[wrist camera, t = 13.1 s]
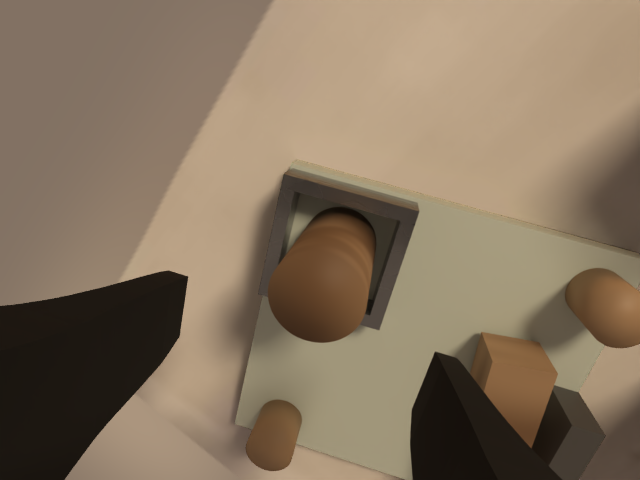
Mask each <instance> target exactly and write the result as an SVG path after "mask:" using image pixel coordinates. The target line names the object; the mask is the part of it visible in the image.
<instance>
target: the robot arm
mask: <svg viewBox="0 0 640 480" xmlns="http://www.w3.org/2000/svg"><path fill="white" fill-rule="evenodd" d="M187 281H188V276H185V275H181V274H178V273H175V272H171V271H163V272H158V273H154V274H150V275H146V276H143V277H139V278H135V279H132V280H128V281H125V282H121V283H117V284H114V285H110V286H106V287H103V288H99V289H94V290H90V291H86V292H82V293H77V294H73V295H69V296H64V297H59V298H54V299H48V300H42V301H36V302H29V303H23V304H16V305H7V306H0V480H65V478H66V477H67V475H68V474H69V472H70V471H71V470H72V468H73V467H74V466H75V464H76V463H77V462H78V460H79V459H80V458H81V456H82V455H83V453H84V452H85V451H86V449H87V448H88V447H89V445H90V444H91V443H92V441H93V440H94V439H95V437H96V436H97V435H98V434H99V433H100V432H101V430H102V429H103V428H104V427H105V426H106V424H107V423H108V422H109V421H110V420H111V419H112V418H113V417H114V415H115V414H116V413H117V412H118V411H119V410H120V409H121V408H122V407H123V406H124V404H125V403H126V402H127V401H128V400H129V399H130V398H131V397H132V396H133V395H134V393H135V392H136V391H137V390H138V389H139V388H140V387H141V386H142V385H143V384H144V382H145V381H146V380H147V379H148V378H149V377H150V376H151V375H152V373H153V372H154V371H155V370H156V369H157V368H158V367H159V365H160V364H161V363H162V362H163V360H164V359H165V357H166V356H167V354H168V353H169V352H170V350H171V349H172V347H173V346H174V344H175V342H176V341H177V339H178V338H179V336H180V329H181V322H182V315H183V309H184V302H185V295H186V288H187ZM410 452H411V465H412V477H413V480H562V479H561V478H560V477H559V476H558V475H557V474H556V473H555V472H554V471H553V470H552V469H551V468H550V467H549V466H548V465H547V464H546V463H545V462H544V461H543V460H542V459H541V458H540V457H539V456H538V455H537V454H536V453H535V452H534V451H533V450H532V449H531V448H530V447H529V445H528V444H527V443H526V442H525V441H524V440H523V439H522V438H521V436H520V435H519V434H518V433H517V432H516V431H515V430H514V428H513V427H512V426H511V425H510V424H509V423H508V422H507V420H506V419H505V418H504V417H503V415H502V414H501V413H500V412H499V411H498V409H497V408H496V407H495V406H494V404H493V403H492V402H491V401H490V399H489V398H488V397H487V395H486V394H485V393H484V391H483V390H482V389H481V388H480V386H479V385H478V384H477V382H476V381H475V380H474V378H473V377H472V376H471V374H470V373H469V372H468V371H467V369H466V368H465V367H464V365H463V364H462V363H461V362H460V361H459V360H458V358H456V357H452V356H449V355H446V354H442V353H439V352H436V351H435V353H434V355H433V358H432V360H431V363H430V365H429V368H428V370H427V373H426V375H425V378H424V380H423V383H422V385H421V388H420V390H419V393H418V395H417V398H416V400H415V403H414V405H413V408H412V413H411V430H410Z"/></svg>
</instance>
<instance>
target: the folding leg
mask: <svg viewBox="0 0 640 480" xmlns="http://www.w3.org/2000/svg"><path fill="white" fill-rule="evenodd" d="M470 374H471V376H472V377H473V378H474V380H475V381H476V382H477V384H478V385H479V386H480V388H481V389H482V390H483V391H484V393H485V394H486V395H487V397H488V398H489V399H490V401H491V402H492V403H493V404H494V406H495V407H496V408H497V409H498V411H499V412H500V413H501V414H502V415H503V417H504V418H505V419H506V420H507V422H508V423H509V424H510V425H511V426H512V427H513V428H514V430H515V431H516V432H517V433H518V434H519V435H520V436H521V438H522V439H523V440H524V441H525V442H526V443H527V444H528V445H529V447H530V448H532V445H533V443H534V440H535V437H536V434H537V431H538V429H539V426H540V423H541V420H542V417H543V415H544V412H545V409H546V406H547V404H548V401H549V398H550V395H551V392H552V390H553V387H554V384H555V381H556V379H557V376H558V373H557V371H556V369H555V368H554V366H553V364H552V363H551V361H550V359H549V358H548V356H547V354H546V353H545V351H544V349H543V348H542V346H541V344H540V343H539V342H535V341H530V340H524V339H518V338H513V337H507V336H502V335H496V334H491V333H485V332H481V335H480V339H479V342H478V346H477V350H476V353H475V357H474V360H473V364H472V368H471V371H470Z"/></svg>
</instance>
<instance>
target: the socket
mask: <svg viewBox="0 0 640 480" xmlns="http://www.w3.org/2000/svg"><path fill="white" fill-rule="evenodd" d="M300 193H302V194H306V195H309V196H313V197H316V198H320V199H323V200H327V201H331V202H334V203H338V204H341V205H345V206H348V207H352V208H356V209H359V210H363V211H366V212H370V213H373V214H377V215H381V216H384V217H388V218H391V219H395V220H397V223H396V226H395V229H394V232H393V235H392V239H391V242H390V245H389V248H388V251H387V254H386V257H385V260H384V263H383V266H382V270H381V273H380V276H379V279H378V282H377V285H376V288H375V291H374V294H373V298H372V300H371V299H368V301H367V307H366V312H365V315H364V317H363V320H362V321H361V323H360V325H362V326H366V327H369V328H372V329H376V330H380V327H381V324H382V321H383V318H384V315H385V312H386V309H387V306H388V303H389V300H390V297H391V294H392V291H393V288H394V285H395V283H396V280H397V277H398V274H399V271H400V268H401V265H402V262H403V259H404V256H405V253H406V250H407V247H408V244H409V241H410V238H411V235H412V232H413V229H414V226H415V223H416V221H417V218H418V215H419V212H420V211H419V207H418V203H417V202H414V201H410V200H407V199H403V198H399V197H396V196H392V195H388V194H385V193H381V192H378V191H374V190H370V189H367V188H363V187H359V186H356V185H352V184H349V183H345V182H341V181H338V180H334V179H330V178H327V177H323V176H320V175H316V174H312V173H309V172H305V171H301V170H298V169H294V168H292V169H290V170H289V171H287V172H286V173H284V175H283V180H282V185H281V189H280V194H279V199H278V204H277V208H276V213H275V218H274V222H273V227H272V232H271V236H270V241H269V246H268V251H267V255H266V260H265V265H264V269H263V274H262V279H261V283H260V288H259V293H258V294H259V295H263V296H266V297H268V285H269V281H270V278H271V276H272V274H273V272H274V271H275V269H276V268H277V266H278V265H279V264H280V262H281V261H282V260H283V258H284V257H285V255H286V252H287V248H288V243H289V239H290V235H291V230H292V226H293V222H294V217H295V213H296V209H297V204H298V200H299V196H300Z"/></svg>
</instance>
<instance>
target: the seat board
mask: <svg viewBox="0 0 640 480" xmlns="http://www.w3.org/2000/svg"><path fill="white" fill-rule="evenodd" d="M292 168H294V169H298V170H301V171H305V172H309V173H312V174H316V175H320V176H323V177H327V178H330V179H334V180H338V181H341V182H345V183H349V184H352V185H356V186H359V187H363V188H367V189H370V190H374V191H378V192H381V193H385V194H388V195H392V196H396V197H399V198H403V199H407V200H410V201H414V202H417V203H418V207H419V211H420V212H419V215H418V218H417V221H416V223H415V226H414V229H413V232H412V235H411V238H410V241H409V244H408V247H407V250H406V253H405V256H404V259H403V262H402V265H401V268H400V271H399V274H398V277H397V280H396V283H395V285H394V288H393V291H392V294H391V297H390V300H389V303H388V306H387V309H386V312H385V315H384V318H383V321H382V324H381V327H380V330H376V329H372V328H369V327H366V326H362V325H359V326H358V327H357V328H356V329H355V330H354V331H353V332H352V333H351V334H349V335H348V336H346V337H344V338H342V339H340V340H337V341H334V342H328V343H315V342H310V341H306V340H303V339H300V338H298V337H296V336H294V335H292V334H291V333H290V332H288V331H287V330H286V329H285V328H283V327H282V326H281V324H280V323H279V322H278V321H277V319H276V318H275V316H274V315H273V313H272V311H271V308H270V305H269V301H268V297H266V296H263V295H262V300H261V305H260V309H259V314H258V318H257V323H256V328H255V332H254V337H253V341H252V346H251V351H250V355H249V360H248V364H247V369H246V374H245V378H244V383H243V387H242V392H241V397H240V401H239V406H238V410H237V415H236V420H235V424H236V425H239V426H242V427H245V428H248V429H252V432H251V434H250V437H249V439H248V441H247V444H246V452H247V455H248V457H249V459H250V460H251V461H252V462H253V463H254V464H255V465H256V466H258V467H260V468H262V469H264V470H268V471H278V470H282V469H284V468H286V467H287V466H288V465H289V464H290V462H291V459H292V456H293V452H294V449H295V445H296V444H297V445H300V446H304V447H307V448H310V449H313V450H316V451H319V452H322V453H325V454H328V455H331V456H334V457H337V458H340V459H343V460H346V461H349V462H353V463H356V464H359V465H362V466H365V467H368V468H371V469H374V470H377V471H380V472H383V473H386V474H389V475H392V476H395V477H398V478H401V479H405V480H413V477H412V465H411V452H410V430H411V413H412V408H413V405H414V403H415V400H416V398H417V395H418V393H419V390H420V388H421V385H422V383H423V380H424V378H425V375H426V373H427V370H428V368H429V365H430V363H431V360H432V358H433V355H434V353H435V351H436V352H439V353H442V354H446V355H449V356H452V357H456V358H458V360H459V361H460V362H461V363H462V364H463V365H464V367H465V368H466V369H467V371H468V372H469V373H470V371H471V368H472V364H473V360H474V357H475V353H476V350H477V346H478V342H479V339H480V335H481V332H485V333H491V334H496V335H502V336H507V337H513V338H518V339H524V340H530V341H535V342H539V343H540V344H541V346H542V348H543V349H544V351H545V353H546V354H547V356H548V358H549V359H550V361H551V363H552V364H553V366H554V368H555V369H556V371H557V373H558V376H557V379H556V381H555V384H554V387H553V390H552V392H551V395H550V398H549V401H548V404H547V406H546V409H545V412H544V415H543V417H542V420H541V423H540V426H539V429H538V431H537V434H536V437H535V440H534V443H533V445H532V448H531V449H532V450H533V451H534V452H535V453H536V454H537V455H538V456H539V457H540V458H541V459H542V460H543V461H544V462H545V463H546V464H547V465H548V466H549V467H550V468H551V469H552V470H553V471H554V472H555V473H556V474H557V475H558V476H559V477H560V478H561V479H562V480H579V478H580V476H581V475H582V473H583V471H584V470H585V468H586V467H587V465H588V463H589V462H590V460H591V459H592V457H593V455H594V454H595V452H596V451H597V449H598V447H599V446H600V444H601V443H602V441H603V439H604V438H605V436H606V435H605V434H604V432H603V431H602V429H601V428H600V426H599V424H598V423H597V421H596V420H595V418H594V416H593V415H592V413H591V412H590V410H589V408H588V407H587V405H586V404H585V402H584V401H583V399H582V397H581V396H580V394H579V393H578V392H579V390H580V388H581V387H582V385H583V383H584V381H585V380H586V378H587V376H588V374H589V373H590V371H591V369H592V367H593V366H594V364H595V362H596V360H597V358H598V357H599V355H600V353H601V351H602V350H603V348H604V346H605V345H606V346H609V347H613V348H627V347H632V346H635V345H638V344H640V292H639V291H638V290H637V288H638V286H639V284H640V254H638V253H636V252H633V251H629V250H625V249H622V248H618V247H614V246H611V245H607V244H603V243H600V242H596V241H592V240H589V239H585V238H581V237H578V236H574V235H570V234H567V233H563V232H560V231H556V230H552V229H549V228H545V227H541V226H538V225H534V224H530V223H527V222H523V221H519V220H516V219H512V218H508V217H505V216H501V215H497V214H494V213H490V212H487V211H483V210H479V209H476V208H472V207H468V206H465V205H461V204H457V203H454V202H450V201H446V200H443V199H439V198H435V197H432V196H428V195H424V194H421V193H417V192H413V191H410V190H406V189H403V188H399V187H395V186H392V185H388V184H384V183H381V182H377V181H373V180H370V179H366V178H362V177H359V176H355V175H351V174H348V173H344V172H340V171H337V170H333V169H330V168H326V167H322V166H319V165H315V164H311V163H308V162H304V161H300V160H295V161H294V162H292V163H291V167H290V169H292ZM332 207H346V208H350V209H353V210H355V211H357V212H359V213H360V214H362V215H363V216H364V217H365V218H366V219H367V220H368V221H369V222H370V224H371V225H372V227H373V229H374V231H375V235H376V243H377V245H376V252H375V258H374V264H373V270H372V276H371V283H370V289H369V295H368V299H371V300H372V298H373V294H374V291H375V288H376V285H377V282H378V279H379V276H380V273H381V270H382V266H383V263H384V260H385V257H386V254H387V251H388V248H389V245H390V242H391V239H392V235H393V232H394V229H395V226H396V223H397V220H395V219H391V218H388V217H384V216H381V215H377V214H373V213H370V212H366V211H363V210H359V209H356V208H352V207H348V206H345V205H341V204H338V203H334V202H331V201H327V200H323V199H320V198H316V197H313V196H309V195H306V194H302V193H300V196H299V200H298V204H297V209H296V213H295V217H294V222H293V226H292V230H291V235H290V239H289V243H288V248H287V252H286V254H287V253H288V251H289V250H290V249H291V247H292V246H293V244H294V243H295V242H296V240H297V239H298V238H299V236H300V235H301V234H302V232H303V231H304V229H305V228H306V227H307V225H308V224H309V223H310V221H311V220H312V219H313V218H314V217H315V216H316V215H317V214H318V213H320V212H321V211H323V210H325V209H328V208H332Z"/></svg>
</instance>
